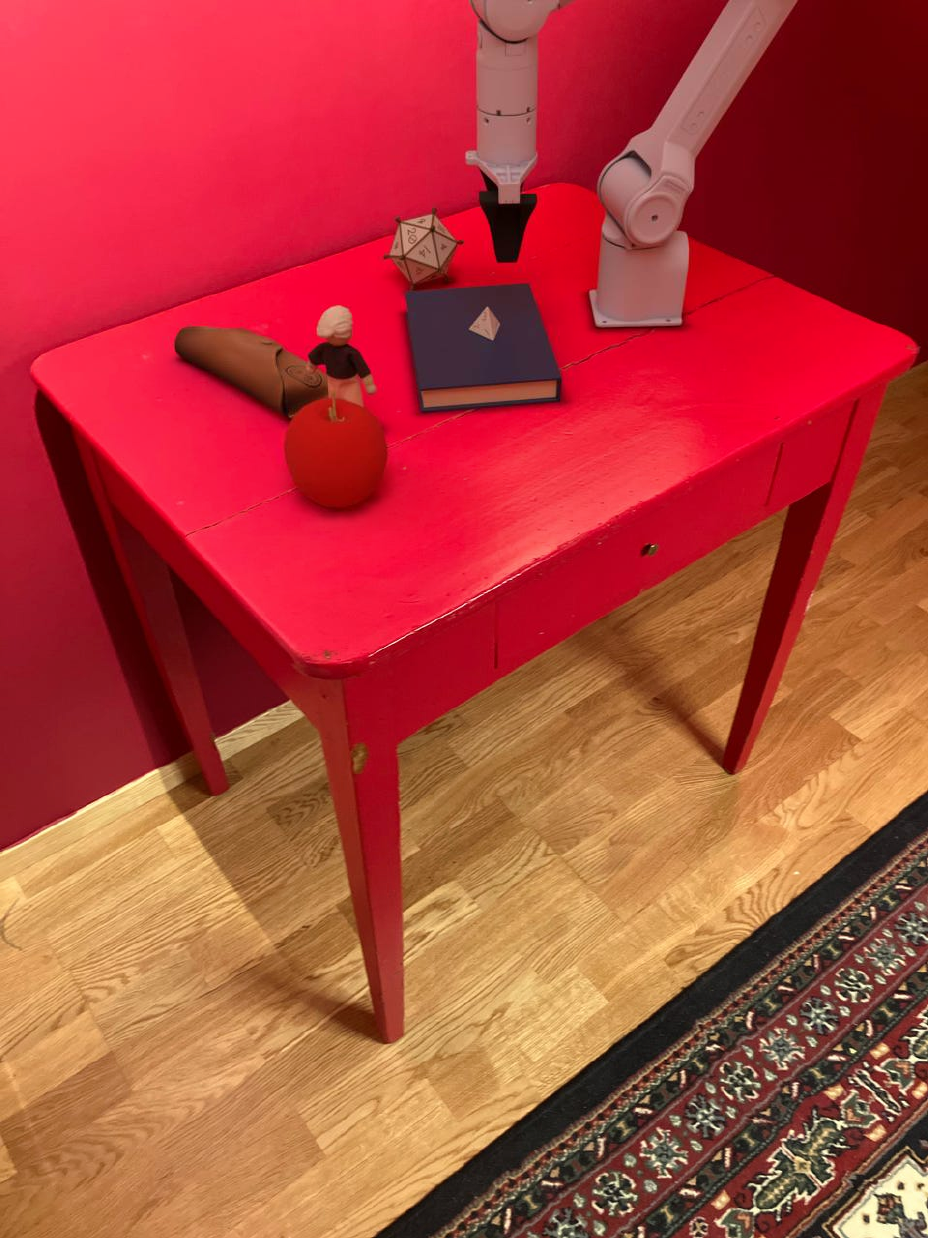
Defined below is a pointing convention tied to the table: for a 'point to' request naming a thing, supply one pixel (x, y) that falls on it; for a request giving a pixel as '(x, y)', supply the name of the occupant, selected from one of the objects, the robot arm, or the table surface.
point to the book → (480, 349)
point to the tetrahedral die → (486, 325)
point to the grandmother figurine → (340, 357)
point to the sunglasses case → (253, 366)
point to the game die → (423, 249)
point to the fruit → (335, 452)
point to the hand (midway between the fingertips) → (505, 244)
